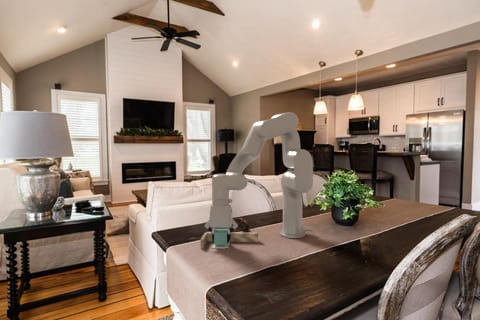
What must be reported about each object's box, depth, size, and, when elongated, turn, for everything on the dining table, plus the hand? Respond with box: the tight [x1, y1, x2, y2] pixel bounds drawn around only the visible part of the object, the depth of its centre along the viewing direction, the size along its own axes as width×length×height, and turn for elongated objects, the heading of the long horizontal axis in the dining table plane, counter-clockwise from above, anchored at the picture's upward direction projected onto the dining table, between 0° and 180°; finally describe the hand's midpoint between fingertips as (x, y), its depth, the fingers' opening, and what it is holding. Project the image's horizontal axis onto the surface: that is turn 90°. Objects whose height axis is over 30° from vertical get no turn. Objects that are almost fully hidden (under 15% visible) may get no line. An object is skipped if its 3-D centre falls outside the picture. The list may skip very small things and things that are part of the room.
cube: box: [213, 228, 227, 245], centre depth 122 cm, size 6×6×6 cm
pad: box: [211, 242, 231, 249], centre depth 123 cm, size 7×7×1 cm
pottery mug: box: [230, 217, 251, 233], centre depth 142 cm, size 12×10×8 cm
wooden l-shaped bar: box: [200, 231, 259, 250], centre depth 123 cm, size 25×10×4 cm, turn 86°
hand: (221, 241), depth 123 cm, fingers closed on cube, 5 cm apart
